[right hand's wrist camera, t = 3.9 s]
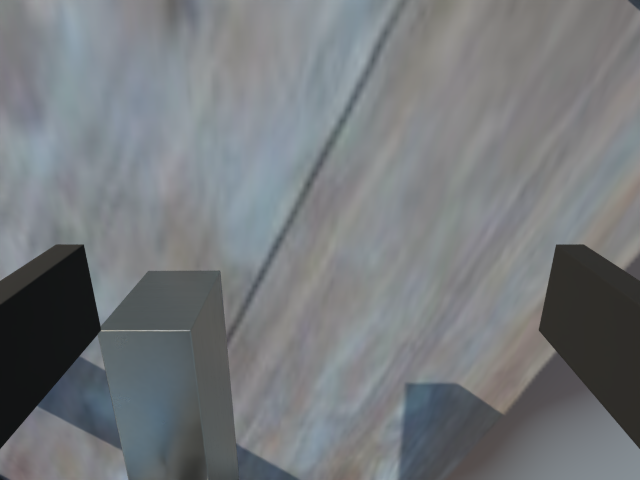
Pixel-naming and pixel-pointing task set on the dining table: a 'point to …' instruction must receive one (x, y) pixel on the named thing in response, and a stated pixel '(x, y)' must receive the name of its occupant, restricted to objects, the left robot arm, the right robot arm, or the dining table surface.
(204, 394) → the box
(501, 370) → the dining table surface
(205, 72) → the dining table surface
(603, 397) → the right robot arm
